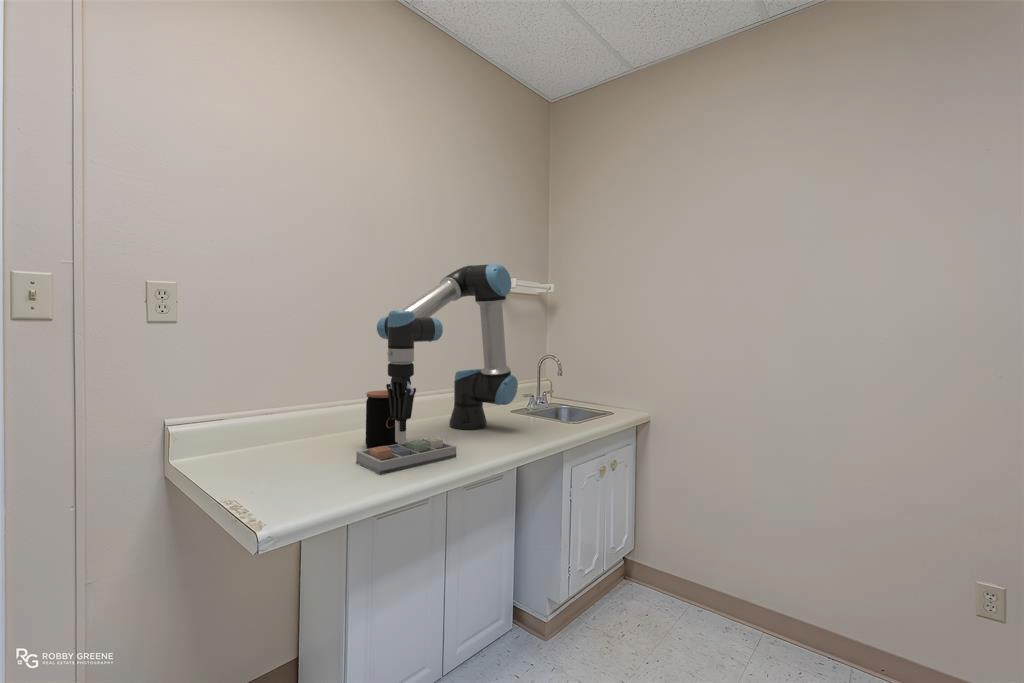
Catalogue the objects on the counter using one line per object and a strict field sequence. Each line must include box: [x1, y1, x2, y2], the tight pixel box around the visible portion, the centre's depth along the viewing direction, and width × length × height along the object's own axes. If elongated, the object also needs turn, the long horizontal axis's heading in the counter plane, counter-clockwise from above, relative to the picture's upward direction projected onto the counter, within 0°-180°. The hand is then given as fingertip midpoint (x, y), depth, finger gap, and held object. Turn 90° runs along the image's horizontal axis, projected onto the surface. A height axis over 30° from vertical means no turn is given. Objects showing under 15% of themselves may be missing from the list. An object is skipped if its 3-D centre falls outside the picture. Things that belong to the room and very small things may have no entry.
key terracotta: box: [369, 446, 392, 460], centre depth 132 cm, size 5×5×3 cm
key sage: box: [405, 439, 427, 452], centre depth 141 cm, size 5×5×3 cm
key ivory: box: [422, 436, 444, 449], centre depth 145 cm, size 5×5×2 cm
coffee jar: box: [365, 389, 399, 449], centre depth 153 cm, size 11×11×18 cm
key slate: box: [392, 447, 410, 457], centre depth 136 cm, size 5×5×2 cm
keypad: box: [355, 438, 457, 476], centre depth 139 cm, size 26×14×3 cm, turn 135°
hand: (400, 441), depth 137 cm, fingers closed
